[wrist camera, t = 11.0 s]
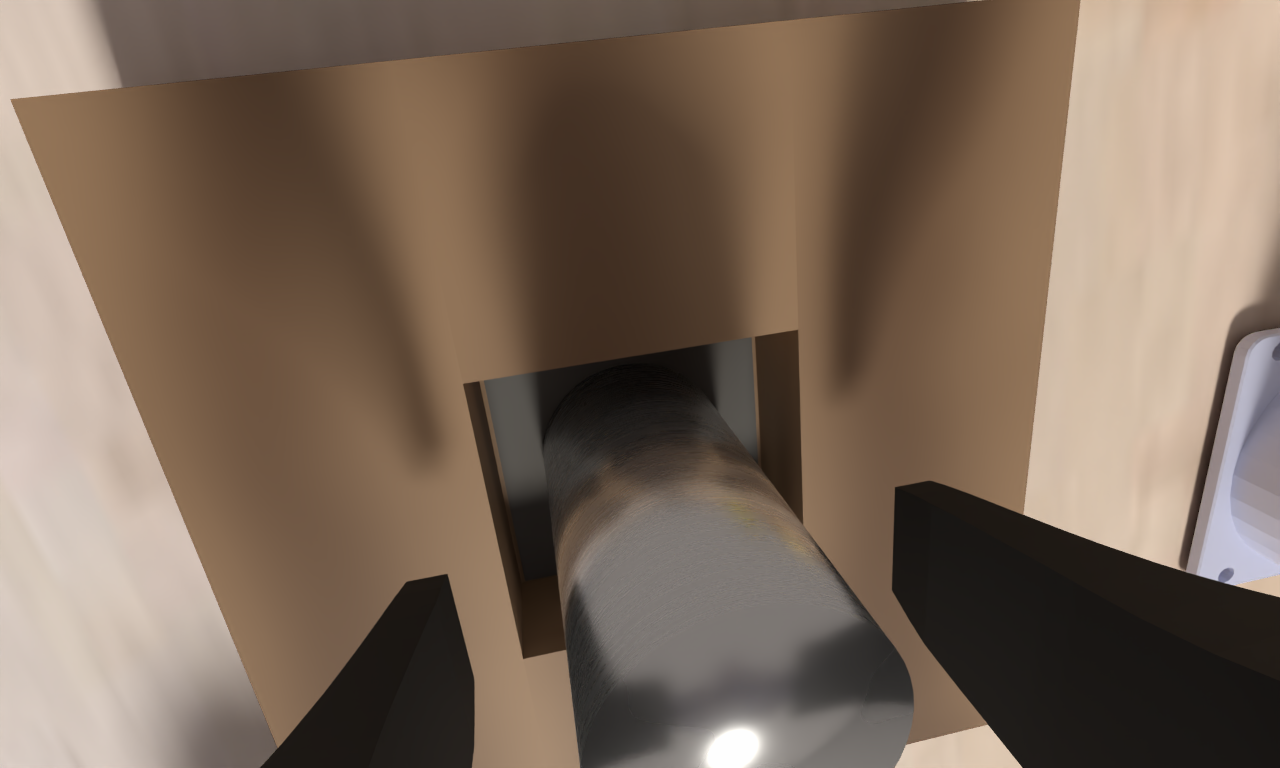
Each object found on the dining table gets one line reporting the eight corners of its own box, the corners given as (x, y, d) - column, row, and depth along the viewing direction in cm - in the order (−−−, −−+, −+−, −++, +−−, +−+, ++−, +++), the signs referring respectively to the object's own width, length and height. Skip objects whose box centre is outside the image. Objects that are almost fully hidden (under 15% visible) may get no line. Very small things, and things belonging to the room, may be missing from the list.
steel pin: (713, 348, 15) (921, 570, 7) (725, 507, 16) (907, 822, 9) (529, 380, 14) (554, 651, 7) (558, 540, 16) (606, 905, 8)
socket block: (967, 19, 14) (1081, -10, 11) (931, 638, 20) (1000, 721, 17) (127, 107, 12) (11, 99, 9) (362, 767, 18) (334, 885, 15)
